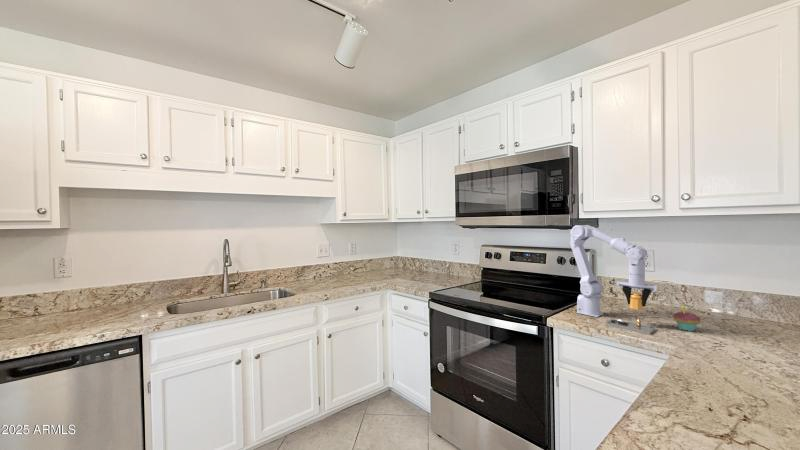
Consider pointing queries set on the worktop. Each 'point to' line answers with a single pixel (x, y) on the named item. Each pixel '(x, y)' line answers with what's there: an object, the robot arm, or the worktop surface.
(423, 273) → the worktop surface
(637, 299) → the acorn cap nut
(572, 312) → the worktop surface
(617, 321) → the plate
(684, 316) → the cupcake
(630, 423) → the worktop surface
